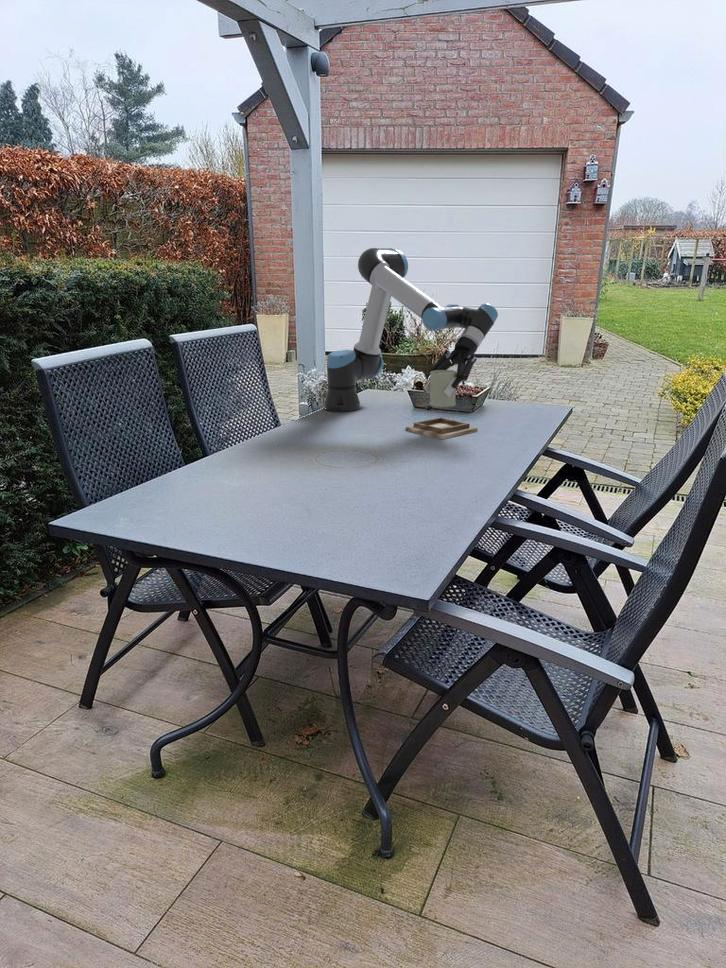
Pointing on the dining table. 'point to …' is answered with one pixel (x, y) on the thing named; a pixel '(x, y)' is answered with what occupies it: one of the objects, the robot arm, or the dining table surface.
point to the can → (441, 388)
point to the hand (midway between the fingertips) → (436, 392)
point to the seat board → (441, 428)
